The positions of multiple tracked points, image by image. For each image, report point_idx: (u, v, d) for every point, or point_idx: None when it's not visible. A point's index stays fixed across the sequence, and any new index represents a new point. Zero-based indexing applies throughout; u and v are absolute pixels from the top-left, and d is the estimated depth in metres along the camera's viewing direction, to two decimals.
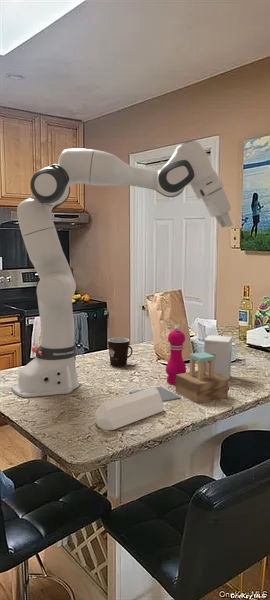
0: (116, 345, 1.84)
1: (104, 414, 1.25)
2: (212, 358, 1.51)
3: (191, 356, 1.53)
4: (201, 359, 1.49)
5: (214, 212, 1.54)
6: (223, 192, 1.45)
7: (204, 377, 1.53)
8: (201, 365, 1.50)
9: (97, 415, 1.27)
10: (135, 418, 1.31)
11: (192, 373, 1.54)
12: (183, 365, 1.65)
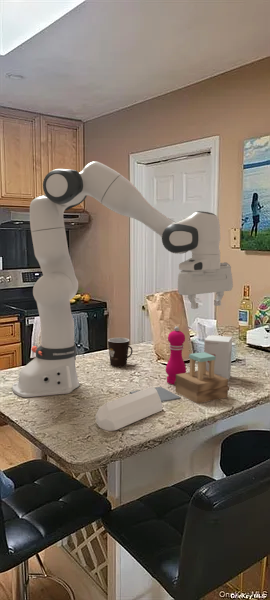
0: (116, 345, 1.84)
1: (106, 414, 1.25)
2: (212, 358, 1.51)
3: (191, 356, 1.53)
4: (201, 359, 1.49)
5: None
6: (186, 276, 1.43)
7: (204, 377, 1.53)
8: (201, 365, 1.50)
9: (99, 416, 1.26)
10: (136, 417, 1.31)
11: (192, 373, 1.54)
12: (183, 365, 1.65)
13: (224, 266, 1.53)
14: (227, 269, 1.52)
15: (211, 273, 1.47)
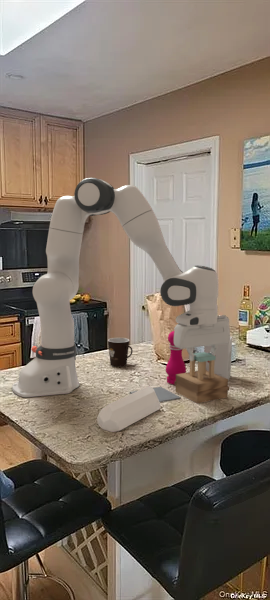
0: (116, 345, 1.84)
1: (110, 415, 1.24)
2: (212, 358, 1.51)
3: None
4: (201, 359, 1.49)
5: None
6: (182, 331, 1.45)
7: (204, 377, 1.53)
8: (201, 365, 1.50)
9: (101, 417, 1.25)
10: (137, 417, 1.31)
11: (192, 373, 1.54)
12: (183, 365, 1.65)
13: (222, 319, 1.54)
14: (225, 322, 1.53)
15: (207, 327, 1.49)
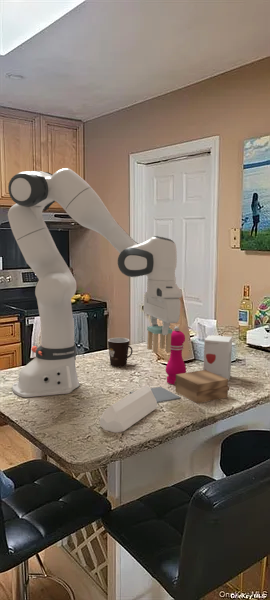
0: (116, 345, 1.84)
1: (114, 416, 1.24)
2: None
3: (158, 331, 1.47)
4: None
5: (156, 314, 1.48)
6: (179, 303, 1.41)
7: (204, 377, 1.53)
8: None
9: (105, 418, 1.24)
10: (138, 417, 1.31)
11: None
12: (183, 365, 1.65)
13: None
14: None
15: None
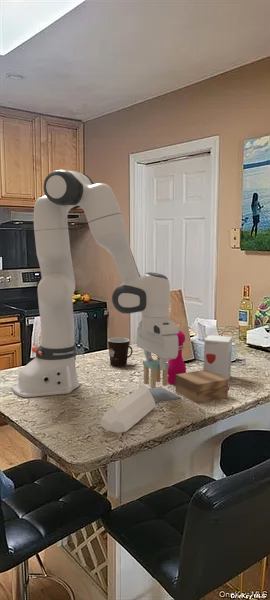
0: (116, 345, 1.84)
1: (116, 417, 1.23)
2: None
3: (155, 367, 1.48)
4: None
5: (152, 349, 1.49)
6: (177, 339, 1.43)
7: (204, 377, 1.53)
8: None
9: (107, 419, 1.24)
10: (139, 417, 1.32)
11: None
12: (183, 365, 1.65)
13: None
14: None
15: None
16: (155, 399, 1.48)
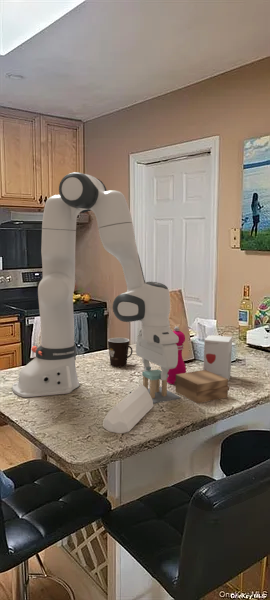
0: (116, 345, 1.84)
1: (119, 417, 1.23)
2: None
3: (155, 377, 1.49)
4: None
5: (151, 358, 1.50)
6: (176, 349, 1.43)
7: (204, 377, 1.53)
8: None
9: (110, 420, 1.24)
10: (139, 416, 1.32)
11: None
12: (183, 365, 1.65)
13: None
14: None
15: None
16: (155, 399, 1.48)
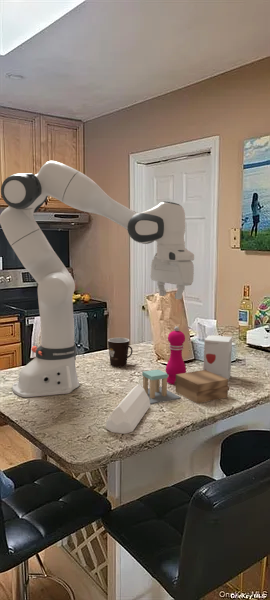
0: (116, 345, 1.84)
1: (123, 417, 1.23)
2: None
3: (155, 377, 1.49)
4: None
5: (167, 278, 1.50)
6: (192, 266, 1.43)
7: (204, 377, 1.53)
8: None
9: (114, 420, 1.23)
10: (140, 416, 1.32)
11: None
12: (183, 365, 1.65)
13: None
14: None
15: None
16: (155, 399, 1.48)
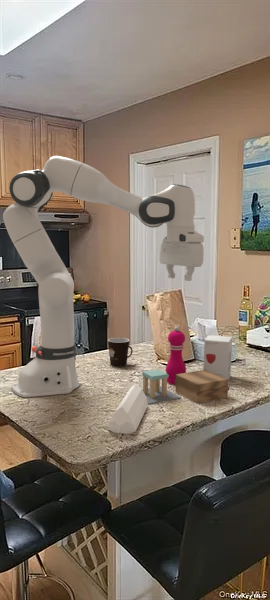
0: (116, 345, 1.84)
1: (126, 417, 1.23)
2: None
3: (155, 377, 1.49)
4: None
5: (177, 261, 1.52)
6: (202, 247, 1.46)
7: (204, 377, 1.53)
8: None
9: (117, 421, 1.23)
10: (140, 416, 1.32)
11: None
12: (183, 365, 1.65)
13: None
14: None
15: None
16: (155, 399, 1.48)
